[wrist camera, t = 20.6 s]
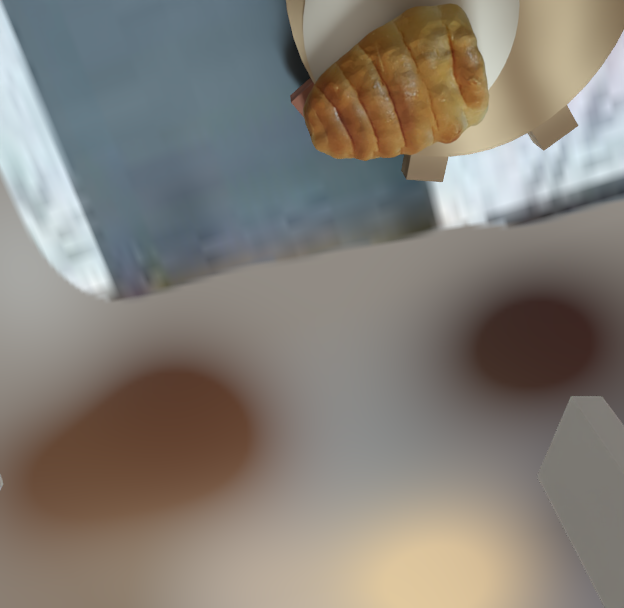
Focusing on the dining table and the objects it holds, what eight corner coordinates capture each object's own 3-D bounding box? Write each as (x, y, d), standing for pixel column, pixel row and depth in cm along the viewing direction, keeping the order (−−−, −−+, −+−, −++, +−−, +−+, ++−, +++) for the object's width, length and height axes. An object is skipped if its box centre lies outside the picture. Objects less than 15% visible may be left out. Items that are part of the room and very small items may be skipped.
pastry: (330, 179, 33) (335, 204, 30) (281, 65, 30) (281, 79, 26) (487, 112, 31) (511, 130, 28) (454, -17, 28) (477, -13, 25)
